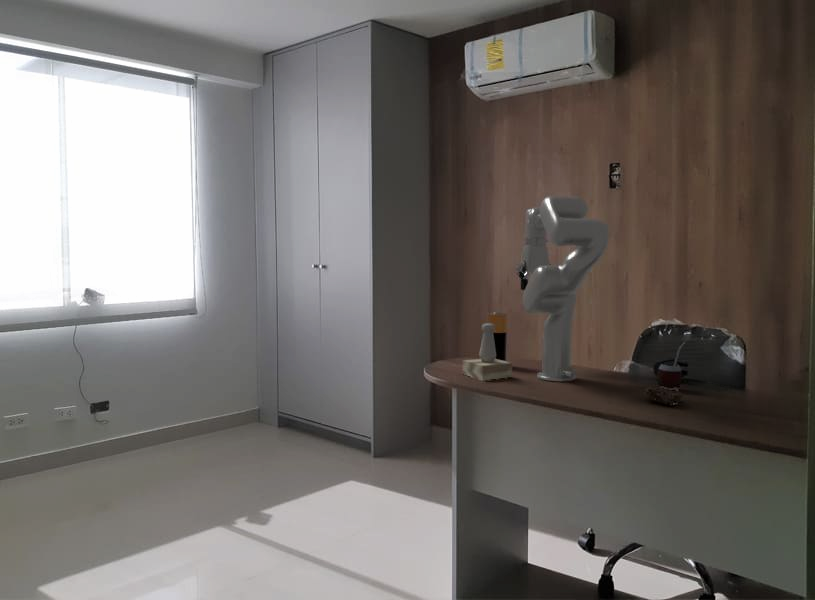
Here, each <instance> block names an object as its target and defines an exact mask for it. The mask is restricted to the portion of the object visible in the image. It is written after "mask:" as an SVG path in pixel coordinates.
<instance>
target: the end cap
mask: <svg viewBox="0 0 815 600" xmlns="http://www.w3.org/2000/svg"><path fill="white" fill-rule="evenodd" d="M675 359H676V357H674V358H668V359H663V360H658V361H657V362H655V363H654V365H653V374H654V375H655V376H656V378H658V369H659V367H660V365H661V364H664V363H670V364H674V363H675ZM676 364H677V365H679V366H680V368H681V367H686V368H689V362H688V361H686V360H680V359H679V358H678V359H677V363H676ZM681 371H682V380H681V382H682V381H686V380H688V377H687V376H688V375H689V371H688V370H687V369H686V370H685V369H681Z"/></svg>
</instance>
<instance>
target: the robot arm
mask: <svg viewBox="0 0 815 600" xmlns="http://www.w3.org/2000/svg"><path fill="white" fill-rule="evenodd" d="M588 209H589V208H588V205H587V202H586V201H585V200H584V199H583V198H581V197H578V196H575V195H574V196H572V195H570V196H569V195H567V196H566V195H549V196H548V195H547V196H546V197H545V198H544V199H542V201H541V204H540V206H536V207H531V208H529V209H527V210H526V213H525V239H524V240H525V241H524V242H525V243H524V244H525V245H524V246H523V247H522V252H521V256H520V264H518V265H516V266H515V267H514V269H515V271H516V274H517V276H518V279H520V290H521V291H523V295H522V307H523V309H524V310H526V312H528V313H531V314H549V315H548V317H547V318H546V320H545V322H544V323H543V325H542V326H543V327H542V328H543V329H542V359H541V360H542V362H541V363H542V364H541V366H542V367H541V371H540V372H538V373H537V374H536V375H537V376H536V377H537V378H538V379H540V380H542V381H543V380H544V381H549V382H550V381H551V382H571V381H574V380H576V376H578V371H575V370H574V366H573V365H572V349H573V347H572V345H573V343H572V342H573V322H574V321H573V319H574V313H575V308H576V302H577V292H578V291H579V290H580V289H581V287H582V285H583V284H584V282H585V280H586V279H587V277H588V276H589V275H590V272H591V270H592V269H593V268H594V267H595V265H597V263H598V262H599V261H600V260H601V258H602V257H603V255H604V254H605V253H606V249H607V247H608V244H609V240H610V231H609V227H608V226H607V224H606V223H605V222H604V221H602V220H599V219H597V218H596V219H594V218H587V217H586V216H587V214H588V211H589V210H588ZM585 217H586V218H585ZM547 237H548V239H549V241H550V243H552V245H554V246H557V247H577V248H575V249H573V250H572V251H571V252H570V253H568V254H567V255H566V257H565V259H564V260H563V262H562V263H561V264H555V265H554V264H551V263H550V261H549V251H548V250H549V249H548V247H547V244H548V243H549V241H548V239H547ZM529 275H531V276H530V278H529V279H528V276H529Z"/></svg>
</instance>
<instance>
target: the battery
mask: <svg viewBox="0 0 815 600" xmlns="http://www.w3.org/2000/svg"><path fill="white" fill-rule="evenodd" d="M486 319H487V320H486V321H487V323H489V324H493V325H494V326H495V330H494V331H493V336H494V343H495V349H496V358H495V359H498V360H502V361H506V362H507V343H508V342H507V339H508V338H507V337H508V336H507V335H508V313H507V312H502V311H493V312H487V317H486ZM487 323H486V324H487Z"/></svg>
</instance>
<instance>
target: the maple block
mask: <svg viewBox="0 0 815 600" xmlns="http://www.w3.org/2000/svg"><path fill="white" fill-rule="evenodd" d="M461 370H462V374H464V375H463V376H465V375H467V376H466V377H468V376H470V377H469V378H472V379H475V380H479V381H482V382H486V380H487V381H492V380H491V379H496V380H498V379H497V378H505V379H508V378H507V377H512V378H513V363H512V362H510V361H507V360H506V361H502V360H498V359H495V360H494V362H492V363H485V362H482V361H481V358H474V359H463V360H462V369H461Z"/></svg>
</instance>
